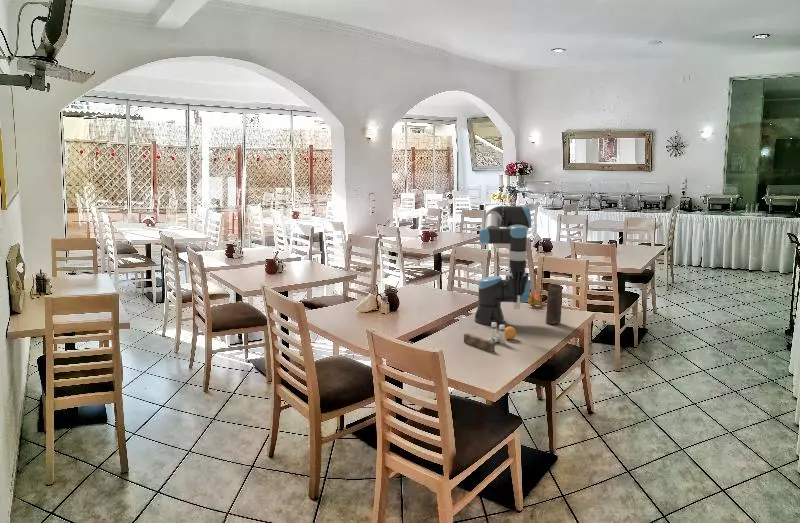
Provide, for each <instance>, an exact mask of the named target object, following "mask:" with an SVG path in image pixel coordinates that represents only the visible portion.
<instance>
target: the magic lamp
mask: <svg viewBox="0 0 800 523" xmlns="http://www.w3.org/2000/svg"><path fill="white" fill-rule="evenodd" d="M541 294H542V292H541V291H538V292H537V293H536V294H535V295H533V294H531V292H530V293H529V299H528V301H527V302H526V303H528V304H529V305H530V306H532V307H536V308H537V304H538V303H540V301H539V300H540V296H541Z"/></svg>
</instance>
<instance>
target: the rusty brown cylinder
mask: <svg viewBox="0 0 800 523" xmlns="http://www.w3.org/2000/svg"><path fill="white" fill-rule="evenodd" d="M562 302H563V286H562V285H560V284H556V283H553V284H551V283H550V284H548V286H547V299H546V312H545V313H546V314H545V323H546V324H548V325H549V324H550V325H558V324H560V323H561V319H562Z"/></svg>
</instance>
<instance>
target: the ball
mask: <svg viewBox="0 0 800 523" xmlns="http://www.w3.org/2000/svg"><path fill="white" fill-rule="evenodd" d="M516 335H517V330H516V329H515V328H514V327H513V326H507V327H506V326H505V339H507V340H513V339H515V338H516Z"/></svg>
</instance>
